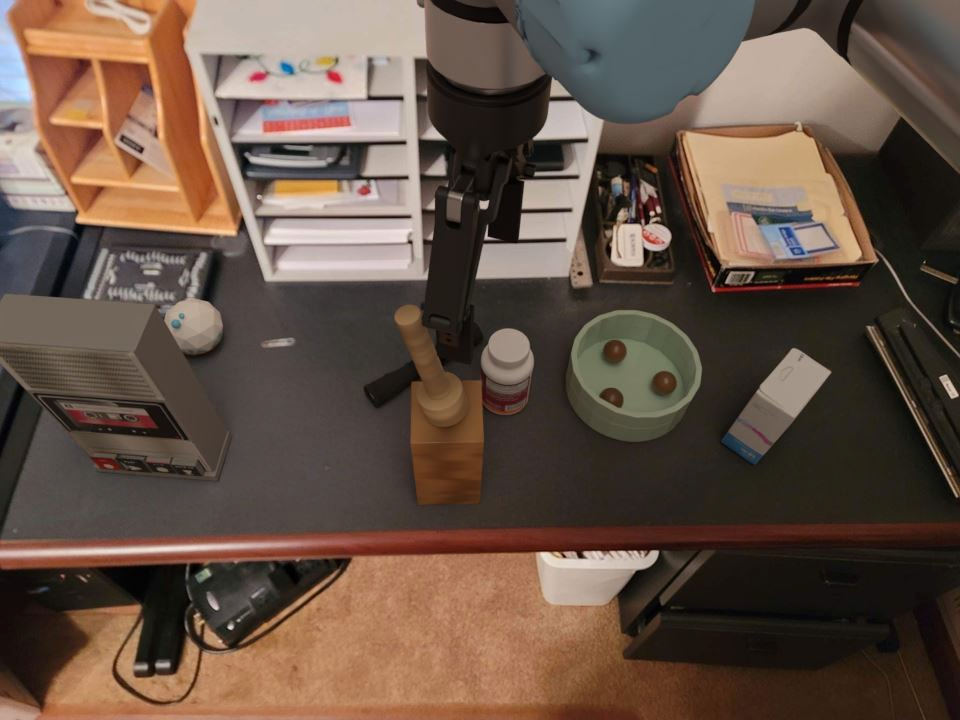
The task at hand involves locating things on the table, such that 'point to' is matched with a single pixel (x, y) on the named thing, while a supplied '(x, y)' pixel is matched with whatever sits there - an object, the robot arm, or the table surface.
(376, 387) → the flashlight
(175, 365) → the cassette tape recorder
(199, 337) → the ornament
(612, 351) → the hazelnut
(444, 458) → the block
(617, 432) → the bowl
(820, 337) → the table surface
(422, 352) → the pestle
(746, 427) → the ink box
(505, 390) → the pill bottle
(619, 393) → the hazelnut
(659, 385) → the hazelnut
